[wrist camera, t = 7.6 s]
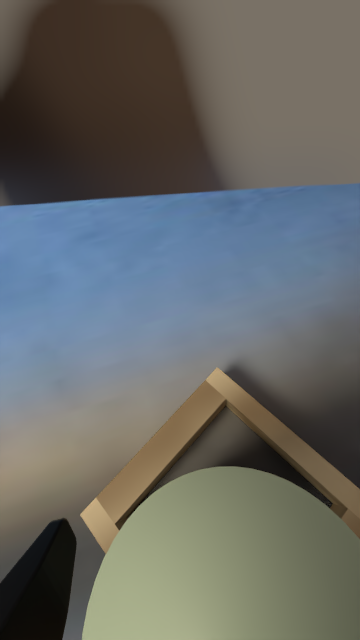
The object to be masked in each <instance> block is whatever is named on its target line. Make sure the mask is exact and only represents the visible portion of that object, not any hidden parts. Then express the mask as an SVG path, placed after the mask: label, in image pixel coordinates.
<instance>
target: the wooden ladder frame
mask: <svg viewBox="0 0 360 640" xmlns="http://www.w3.org/2000/svg"><path fill="white" fill-rule="evenodd" d="M225 406H227V407H228V408H229V409H230V410H231V411H232V412H233V413H234V414H235V415H236V416H238V417H239V418H240V419H241V420H242V421H243V422H244V423H245V424H246V425H247V426H249V427H250V428H251V429H252V430H253V431H254V432H255V433H256V434H257V435H258V436H259V437H261V438H262V439H263V440H264V441H265V442H266V443H267V444H268V445H269V446H270V447H272V448H273V449H274V450H275V451H276V452H277V453H278V454H279V455H280V456H281V457H282V458H284V459H285V460H286V461H287V462H288V463H289V464H290V465H291V466H292V467H293V468H295V469H296V470H297V471H298V472H299V473H300V474H301V475H302V476H303V477H304V478H306V479H307V480H308V481H309V482H310V483H311V484H312V485H313V486H314V487H315V488H316V489H318V490H319V491H320V492H321V493H322V494H323V495H324V496H325V497H326V498H327V499H329V500H330V501H331V502H332V503H333V504H332V506H331V507H330V509H331V510H332V511H333V512H334V513H335V514H336V515H337V516H338V517H340V518H341V519H342V520H343V521H344V522H345V523H346V524H347V526H348V527H349V528H350V529H351V530H352V531H353V532H354V533H355V534H356V536H357V537H358V538H359V539H360V489H359V488H358V487H357V486H356V485H354V484H353V483H352V482H351V481H350V480H348V479H347V478H346V477H345V476H344V475H343V474H341V473H340V472H339V471H338V470H337V469H336V468H334V467H333V466H332V465H331V464H330V463H329V462H327V461H326V460H325V459H324V458H323V457H322V456H320V455H319V454H318V453H317V452H316V451H315V450H313V449H312V448H311V447H310V446H309V445H308V444H306V443H305V442H304V441H303V440H302V439H301V438H299V437H298V436H297V435H296V434H295V433H294V432H292V431H291V430H290V429H289V428H288V427H286V426H285V425H284V424H283V423H282V422H281V421H279V420H278V419H277V418H276V417H275V416H274V415H272V414H271V413H270V412H269V411H268V410H267V409H265V408H264V407H263V406H262V405H261V404H260V403H258V402H257V401H256V400H255V399H254V398H253V397H251V396H250V395H249V394H248V393H247V392H246V391H244V390H243V389H242V388H241V387H240V386H239V385H237V384H236V383H235V382H234V381H233V380H232V379H230V378H229V377H228V376H227V375H226V374H225V373H223V372H222V371H221V370H220V369H219V368H216V369H215V370H214V371H213V372H212V373H211V375H210V376H209V377H208V378H207V379H206V380H205V381H204V382H203V383H202V384H201V385H200V386H199V387H198V389H197V390H196V391H195V392H194V393H193V394H192V395H191V396H190V397H189V398H188V399H187V400H186V401H185V402H184V404H183V405H182V406H181V407H180V408H179V409H178V410H177V411H176V412H175V413H174V414H173V415H172V416H171V418H170V419H169V420H168V421H167V422H166V423H165V424H164V425H163V426H162V427H161V428H160V429H159V430H158V432H157V433H156V434H155V435H154V436H153V437H152V438H151V439H150V440H149V441H148V442H147V443H146V444H145V445H144V447H143V448H142V449H141V450H140V451H139V452H138V453H137V454H136V455H135V456H134V457H133V458H132V459H131V461H130V462H129V463H128V464H127V465H126V466H125V467H124V468H123V469H122V470H121V471H120V472H119V473H118V474H117V476H116V477H115V478H114V479H113V480H112V481H111V482H110V483H109V484H108V485H107V486H106V487H105V488H104V490H103V491H102V492H101V493H100V494H99V495H98V496H97V497H96V498H95V499H94V500H93V501H92V502H91V503H90V505H89V506H88V507H87V508H86V509H85V510H84V511H83V512H82V513H81V514H80V515H81V517H82V518H83V520H84V521H85V523H86V524H87V526H88V527H89V529H90V531H91V532H92V534H93V535H94V537H95V538H96V540H97V541H98V543H99V544H100V546H101V547H102V549H103V550H104V552H105V553H107V552H108V550H109V548H110V546H111V544H112V542H113V540H114V538H115V537H116V535H117V534H118V532H119V531H120V529H121V528H122V526H123V525H124V523H125V522H126V520H127V519H128V518H127V517H128V516H129V515H130V514H131V513H132V512H133V510H134V509H135V508H136V507H137V506H138V505H139V504H140V502H141V501H142V500H143V499H144V498H145V497H146V496H147V494H148V493H149V492H150V491H151V490H152V489H153V488H154V487H155V485H156V484H157V483H158V482H159V481H160V480H161V479H162V477H163V476H164V475H165V474H166V473H167V472H168V471H169V470H170V468H171V467H172V466H173V465H174V464H175V463H176V462H177V460H178V459H179V458H180V457H181V456H182V455H183V454H184V452H185V451H186V450H187V449H188V448H189V447H190V446H191V445H192V443H193V442H194V441H195V440H196V439H197V438H198V437H199V435H200V434H201V433H202V432H203V431H204V430H205V429H206V427H207V426H208V425H209V424H210V423H211V422H212V421H213V420H214V418H215V417H216V416H217V415H218V414H219V413H220V412H221V410H222V409H223V408H224V407H225Z"/></svg>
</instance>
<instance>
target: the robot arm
mask: <svg viewBox="0 0 360 640" xmlns="http://www.w3.org/2000/svg"><path fill="white" fill-rule="evenodd" d="M75 553H76V537H75V535H74V533H73V530H72V528H71V526H70V524H69V522H68V520H67V519H65V518H61V519H57V520H53V521H51V522H50V523H49V524H48V525H47V527H46V528H45V529H44V530H43V532H42V533H41V534H40V535H39V536H38V538H37V539H36V540H35V541H34V542H33V544H32V545H31V546H30V547H29V549H28V550H27V551H26V552H25V553H24V555H23V556H22V557H21V558H20V560H19V561H18V562H17V563H16V564H15V566H14V567H13V568H12V569H11V571H10V572H9V573H8V574H7V575H6V577H5V578H4V579H3V580H2V582H1V583H0V640H62V638H63V633H64V629H65V624H66V619H67V613H68V607H69V600H70V593H71V585H72V577H73V569H74V561H75Z"/></svg>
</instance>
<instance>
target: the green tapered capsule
mask: <svg viewBox="0 0 360 640" xmlns="http://www.w3.org/2000/svg"><path fill="white" fill-rule="evenodd" d="M82 640H360V539H359V538H358V537H357V536H356V534H355V533H354V532H353V531H352V530H351V529H350V528H349V527H348V526H347V524H346V523H345V522H344V521H343V520H342V519H341V518H340V517H338V516H337V515H336V514H335V513H334V512H333V511H332V510H331V509H330V508H329V507H327V506H326V505H325V504H324V503H323V502H321V501H320V500H318V499H317V498H316V497H314V496H313V495H311V494H310V493H309V492H307V491H306V490H304V489H302V488H300V487H299V486H297V485H295V484H293V483H292V482H290V481H288V480H285V479H283V478H280V477H278V476H276V475H273V474H271V473H267V472H263V471H260V470H256V469H252V468H244V467H236V466H228V467H213V468H207V469H201V470H197V471H194V472H191V473H188V474H185V475H183V476H181V477H179V478H177V479H175V480H173V481H171V482H169V483H167V484H166V485H164V486H163V487H161V488H160V489H158V490H157V491H155V492H154V493H153V494H152V495H150V496H149V497H148V498H147V499H146V500H145V501H144V502H143V503H142V504H140V505H139V506H138V508H137V509H136V510H135V511H134V512H133V513H132V515H131V516H130V517H129V518H128V519H127V520H126V522H125V523H124V525H123V526H122V528H121V529H120V531H119V532H118V534H117V535H116V537H115V538H114V540H113V542H112V544H111V546H110V548H109V550H108V552H107V553H106V555H105V557H104V559H103V562H102V565H101V567H100V570H99V572H98V575H97V577H96V580H95V583H94V586H93V590H92V593H91V597H90V600H89V603H88V608H87V613H86V618H85V623H84V629H83V635H82Z"/></svg>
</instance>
